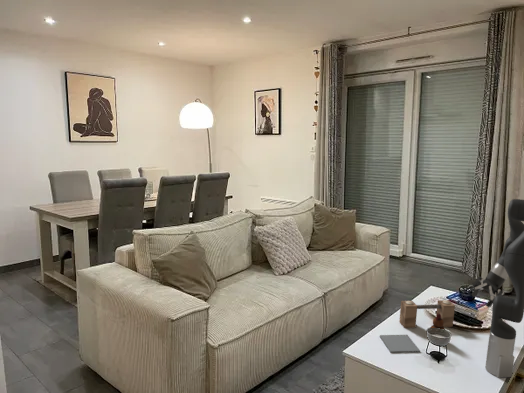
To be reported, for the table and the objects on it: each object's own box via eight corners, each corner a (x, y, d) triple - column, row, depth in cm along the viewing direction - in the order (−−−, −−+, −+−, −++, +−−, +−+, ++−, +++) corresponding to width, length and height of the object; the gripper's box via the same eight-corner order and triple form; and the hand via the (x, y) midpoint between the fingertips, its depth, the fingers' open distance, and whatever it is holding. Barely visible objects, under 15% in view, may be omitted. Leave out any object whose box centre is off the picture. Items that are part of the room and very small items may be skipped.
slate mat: (420, 352, 179) (420, 350, 179) (390, 352, 178) (390, 351, 178) (407, 336, 193) (407, 334, 193) (379, 336, 192) (379, 335, 192)
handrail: (452, 326, 203) (455, 304, 201) (404, 327, 201) (406, 305, 199) (446, 321, 209) (448, 299, 207) (399, 322, 207) (401, 299, 205)
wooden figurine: (434, 344, 187) (437, 315, 184) (426, 337, 192) (429, 309, 189) (446, 342, 188) (449, 313, 186) (438, 336, 194) (441, 308, 191)
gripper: (482, 264, 196) (464, 291, 199) (507, 280, 184) (488, 308, 186) (490, 268, 200) (472, 295, 202) (515, 284, 187) (496, 311, 190)
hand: (480, 301), depth 194 cm, fingers open, 8 cm apart
